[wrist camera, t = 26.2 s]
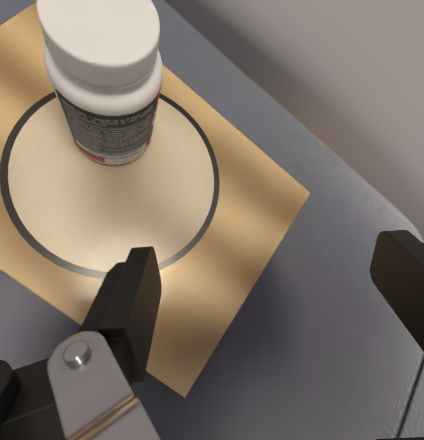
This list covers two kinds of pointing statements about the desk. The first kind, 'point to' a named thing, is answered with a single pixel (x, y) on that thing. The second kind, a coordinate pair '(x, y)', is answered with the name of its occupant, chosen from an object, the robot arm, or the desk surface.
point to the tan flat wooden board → (136, 207)
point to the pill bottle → (104, 73)
